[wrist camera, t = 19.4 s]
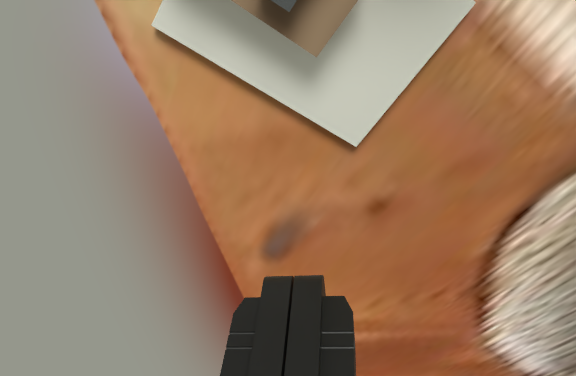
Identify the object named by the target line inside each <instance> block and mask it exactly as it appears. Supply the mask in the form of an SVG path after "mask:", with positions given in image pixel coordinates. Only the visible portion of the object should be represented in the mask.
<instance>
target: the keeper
mask: <svg viewBox="0 0 576 376" xmlns="http://www.w3.org/2000/svg"><path fill="white" fill-rule="evenodd" d="M271 1H273V2H274V3H276V4H277V5H279V6H281V7H282V8H284V9H285V10H287V11H288V12H290V10H291V9H292V7H293V6H294V4H295V2H296V1H297V0H271Z"/></svg>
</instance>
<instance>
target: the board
mask: <svg viewBox="0 0 576 376" xmlns="http://www.w3.org/2000/svg"><path fill="white" fill-rule="evenodd" d="M475 3H476V2H475V1H474V0H358V1H357V3H356V4H355V5H354V7H353V8H352V9H351V11H350V12H349V14H348V15H347V16H346V18H345V19H344V20H343V22H342V23H341V25H340V26H339V27H338V29H337V30H336V31H335V33H334V34H333V36H332V37H331V38H330V40H329V41H328V42H327V44H326V45H325V47H324V48H323V49H322V51H321V52H320V53H319V55H318V56H317V57H315V56H314V55H312V54H311V53H309V52H308V51H306V50H305V49H303V48H302V47H300V46H299V45H297V44H296V43H294V42H293V41H291V40H290V39H288V38H287V37H285V36H284V35H282V34H281V33H279V32H278V31H276V30H275V29H273V28H272V27H270V26H269V25H267V24H266V23H264V22H263V21H261V20H260V19H258V18H257V17H255V16H254V15H252V14H251V13H249V12H248V11H246V10H245V9H243V8H242V7H240V6H239V5H237V4H236V3H234V2H233V1H231V0H163V1H162V3H161V6H160V8H159V10H158V12H157V14H156V17H155V19H154V21H153V23H152V25H151V26H153V27H155V28H156V29H158V30H160V31H162V32H163V33H165V34H167V35H168V36H170V37H172V38H173V39H175V40H177V41H178V42H180V43H182V44H183V45H185V46H187V47H188V48H190V49H192V50H194V51H195V52H197V53H199V54H200V55H202V56H204V57H205V58H207V59H209V60H210V61H212V62H214V63H215V64H217V65H219V66H221V67H222V68H224V69H226V70H227V71H229V72H231V73H232V74H234V75H236V76H237V77H239V78H241V79H242V80H244V81H246V82H247V83H249V84H251V85H253V86H254V87H256V88H258V89H259V90H261V91H263V92H264V93H266V94H268V95H269V96H271V97H273V98H274V99H276V100H278V101H279V102H281V103H283V104H285V105H286V106H288V107H290V108H291V109H293V110H295V111H296V112H298V113H300V114H301V115H303V116H305V117H306V118H308V119H310V120H311V121H313V122H315V123H317V124H318V125H320V126H322V127H323V128H325V129H327V130H328V131H330V132H332V133H333V134H335V135H337V136H338V137H340V138H342V139H344V140H345V141H347V142H349V143H350V144H352V145H354V146H355V147H357V145H358V144H359V143H360V142H361V141H362V139H363V138H364V137H365V136H366V135H367V133H368V132H369V131H370V130H371V129H372V127H373V126H374V125H375V124H376V123H377V121H378V120H379V119H380V118H381V116H382V115H383V114H384V113H385V112H386V110H387V109H388V108H389V107H390V106H391V104H392V103H393V102H394V101H395V100H396V98H397V97H398V96H399V95H400V94H401V92H402V91H403V90H404V89H405V88H406V86H407V85H408V84H409V83H410V82H411V80H412V79H413V78H414V77H415V76H416V74H417V73H418V72H419V71H420V70H421V68H422V67H423V66H424V65H425V64H426V62H427V61H428V60H429V59H430V58H431V56H432V55H433V54H434V53H435V52H436V50H437V49H438V48H439V47H440V46H441V44H442V43H443V42H444V41H445V39H446V38H447V37H448V36H449V35H450V33H451V32H452V31H453V30H454V29H455V27H456V26H457V25H458V24H459V23H460V21H461V20H462V19H463V18H464V17H465V15H466V14H467V13H468V12H469V11H470V9H471V8H472V7H473V6H474V5H475Z"/></svg>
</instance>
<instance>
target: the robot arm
mask: <svg viewBox="0 0 576 376" xmlns="http://www.w3.org/2000/svg"><path fill="white" fill-rule="evenodd" d="M220 376H356V358H355V338H354V321H353V311H352V309H351V308H350V306H349V304H348V302H347V300H346V298H345V297H344V296H326V294H325V284H324V277H323V275H311V276H295V277H293V276H272V277H265V278H264V281H263V286H262V292H261V297H257V298H244V300H243V301H242V303H241V304H240V305H239V307H238V308H237V310H236V311H235V312H234V314H233V318H232V323H231V327H230V335H229V336H228V341H227V346H226V350H225V355H224V359H223V364H222V369H221V374H220Z"/></svg>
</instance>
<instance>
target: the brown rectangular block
mask: <svg viewBox="0 0 576 376" xmlns="http://www.w3.org/2000/svg"><path fill="white" fill-rule="evenodd" d="M231 1H233V2H234V3H236V4H237V5H239V6H240V7H242V8H243V9H245V10H246V11H248V12H249V13H251V14H252V15H254V16H255V17H257V18H258V19H260V20H261V21H263V22H264V23H266V24H267V25H269V26H270V27H272V28H273V29H275V30H276V31H278V32H279V33H281V34H282V35H284V36H285V37H287V38H288V39H290V40H291V41H293V42H294V43H296V44H297V45H299V46H300V47H302V48H303V49H305V50H306V51H308V52H309V53H311V54H312V55H314V56H315V57H317V56H318V55H319V53H320V52H321V51H322V49H323V48H324V47H325V45H326V44H327V42H328V41H329V40H330V38H331V37H332V36H333V34H334V33H335V31H336V30H337V29H338V27H339V26H340V25H341V23H342V22H343V20H344V19H345V18H346V16H347V15H348V14H349V12H350V11H351V9H352V8H353V7H354V5H355V4H356V3H357V1H358V0H297V1H296V2H295V4H294V6H293V7H292V9H291V10H290V12H288V11H287V10H285V9H284V8H282V7H281V6H279V5H277V4H276V3H274V2H273V1H271V0H231Z"/></svg>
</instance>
